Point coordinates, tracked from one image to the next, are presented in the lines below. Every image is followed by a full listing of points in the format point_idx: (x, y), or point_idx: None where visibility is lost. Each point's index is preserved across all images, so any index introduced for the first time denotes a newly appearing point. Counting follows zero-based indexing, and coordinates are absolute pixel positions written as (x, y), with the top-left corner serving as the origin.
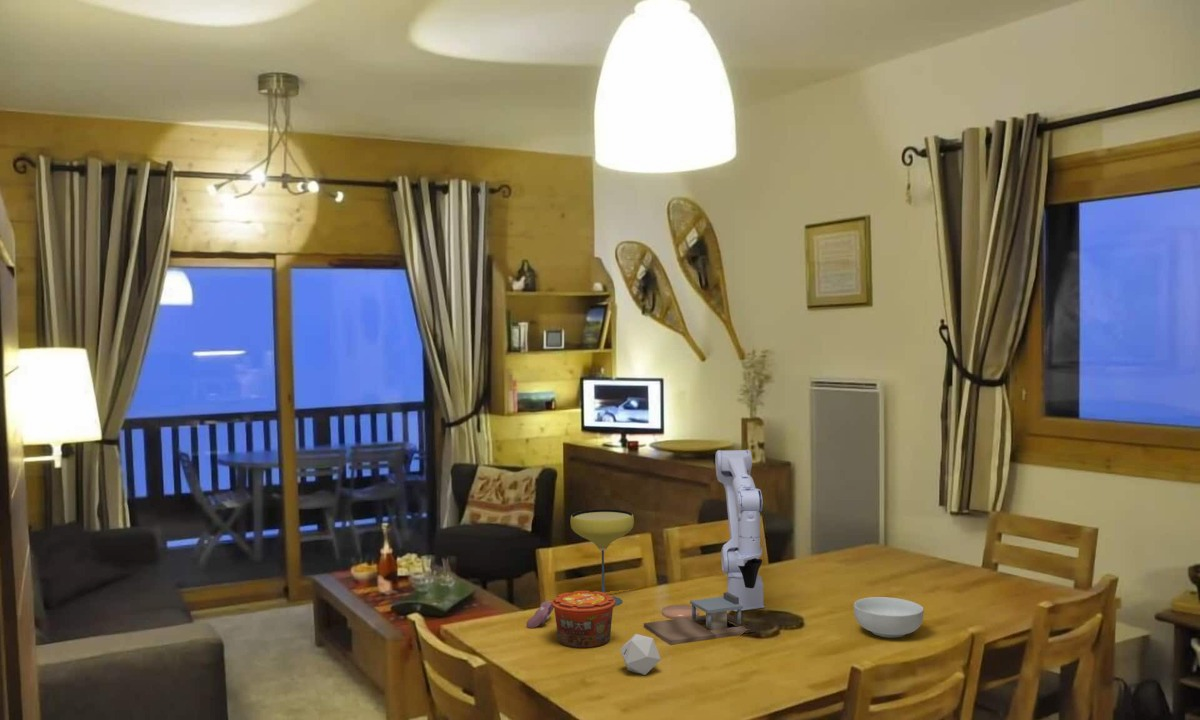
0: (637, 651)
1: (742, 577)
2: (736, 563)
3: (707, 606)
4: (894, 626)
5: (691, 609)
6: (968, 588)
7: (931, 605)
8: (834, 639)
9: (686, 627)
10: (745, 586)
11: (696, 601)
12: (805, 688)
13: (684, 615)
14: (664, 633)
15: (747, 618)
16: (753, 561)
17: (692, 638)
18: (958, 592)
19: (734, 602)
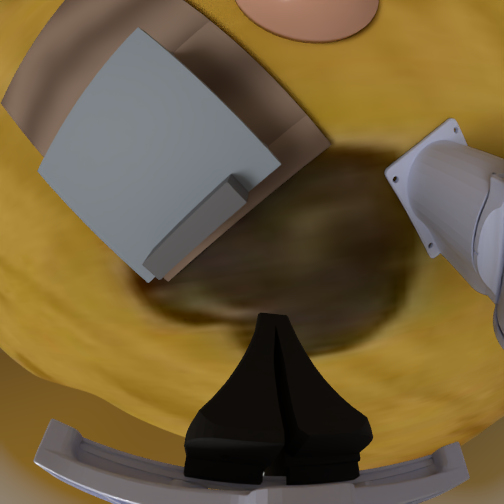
0: None
1: (474, 250)
2: (46, 429)
3: (76, 145)
4: None
5: (329, 12)
6: (459, 432)
7: (408, 438)
8: (203, 400)
9: (93, 72)
10: (258, 317)
11: (131, 59)
12: (13, 350)
13: (238, 4)
14: (34, 54)
15: (317, 223)
16: (271, 475)
17: (29, 138)
18: (449, 433)
19: (151, 251)
